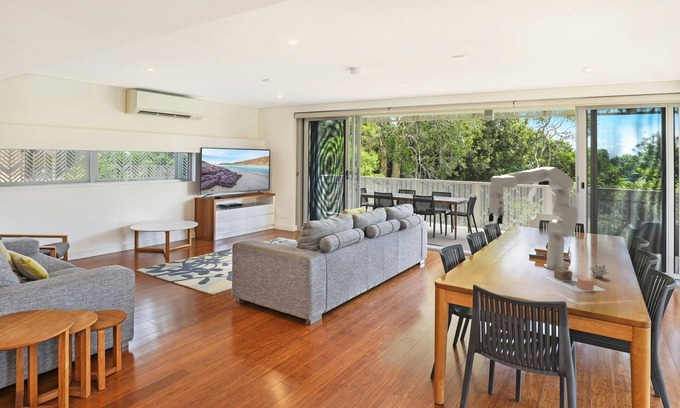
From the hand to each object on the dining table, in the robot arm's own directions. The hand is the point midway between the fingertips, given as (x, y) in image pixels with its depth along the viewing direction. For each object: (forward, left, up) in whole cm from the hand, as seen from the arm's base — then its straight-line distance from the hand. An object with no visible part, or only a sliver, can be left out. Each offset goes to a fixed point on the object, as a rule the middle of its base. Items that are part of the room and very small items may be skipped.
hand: (495, 222), depth 265 cm
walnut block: (-29, +27, -30) cm, 50 cm away
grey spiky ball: (-56, +23, -31) cm, 68 cm away
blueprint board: (-29, +36, -31) cm, 56 cm away
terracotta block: (-29, +45, -30) cm, 61 cm away
